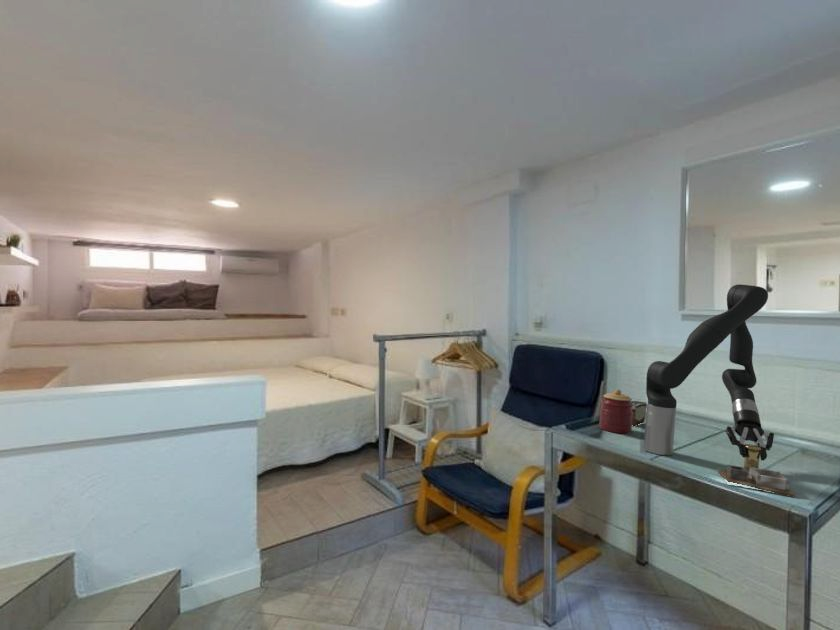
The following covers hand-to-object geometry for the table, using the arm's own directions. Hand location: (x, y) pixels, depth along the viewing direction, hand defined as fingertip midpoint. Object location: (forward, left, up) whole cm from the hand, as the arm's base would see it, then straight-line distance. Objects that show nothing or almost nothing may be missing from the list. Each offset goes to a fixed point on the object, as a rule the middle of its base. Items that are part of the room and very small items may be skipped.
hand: (753, 457), depth 145 cm
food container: (-34, +46, -5) cm, 57 cm away
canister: (-42, +29, -5) cm, 51 cm away
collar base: (-4, -14, -5) cm, 15 cm away
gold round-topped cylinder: (0, +2, -5) cm, 5 cm away
